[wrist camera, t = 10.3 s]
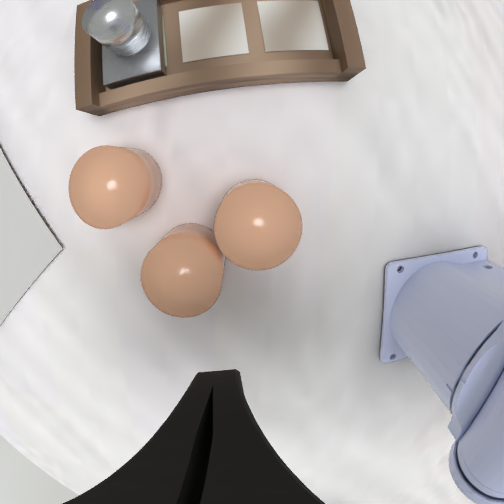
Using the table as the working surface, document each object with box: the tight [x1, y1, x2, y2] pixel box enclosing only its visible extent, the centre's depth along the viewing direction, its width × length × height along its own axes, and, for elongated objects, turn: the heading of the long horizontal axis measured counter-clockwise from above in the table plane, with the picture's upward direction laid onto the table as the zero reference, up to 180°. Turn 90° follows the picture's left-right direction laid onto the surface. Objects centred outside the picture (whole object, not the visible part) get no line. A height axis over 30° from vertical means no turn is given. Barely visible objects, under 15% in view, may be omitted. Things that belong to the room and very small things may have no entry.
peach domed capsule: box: [214, 180, 302, 270], centre depth 16 cm, size 4×4×4 cm
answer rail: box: [75, 0, 366, 116], centre depth 13 cm, size 15×7×3 cm, turn 97°
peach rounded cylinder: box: [141, 223, 225, 317], centre depth 17 cm, size 4×4×4 cm
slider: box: [82, 0, 166, 90], centre depth 11 cm, size 3×5×5 cm, turn 7°
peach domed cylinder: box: [69, 146, 162, 229], centre depth 15 cm, size 4×4×4 cm
